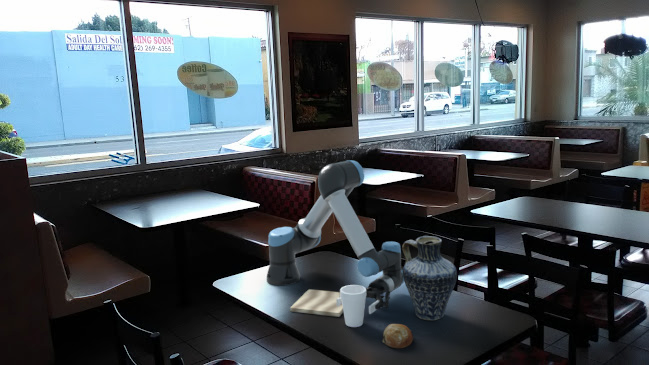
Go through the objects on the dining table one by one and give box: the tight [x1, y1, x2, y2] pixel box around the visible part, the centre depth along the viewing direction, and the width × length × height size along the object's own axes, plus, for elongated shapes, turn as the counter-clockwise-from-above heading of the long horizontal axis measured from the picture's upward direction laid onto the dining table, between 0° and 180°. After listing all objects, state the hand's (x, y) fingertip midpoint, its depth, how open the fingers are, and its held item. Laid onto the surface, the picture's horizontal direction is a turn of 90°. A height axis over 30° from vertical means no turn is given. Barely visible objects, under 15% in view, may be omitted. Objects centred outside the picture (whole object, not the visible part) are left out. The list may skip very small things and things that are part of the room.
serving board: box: [290, 288, 344, 318], centre depth 212 cm, size 20×20×2 cm
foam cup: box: [339, 284, 367, 328], centre depth 193 cm, size 10×9×13 cm
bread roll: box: [382, 323, 414, 349], centre depth 178 cm, size 10×10×8 cm
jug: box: [401, 235, 458, 321], centre depth 195 cm, size 21×19×30 cm
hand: (353, 306), depth 192 cm, fingers open, 13 cm apart
